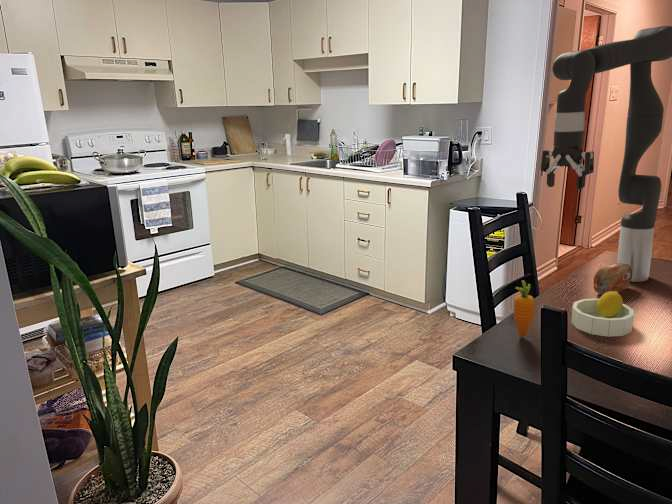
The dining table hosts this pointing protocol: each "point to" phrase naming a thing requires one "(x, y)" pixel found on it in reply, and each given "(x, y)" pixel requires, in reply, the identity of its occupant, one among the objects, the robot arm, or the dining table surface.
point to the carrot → (523, 310)
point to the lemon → (609, 304)
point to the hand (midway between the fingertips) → (564, 188)
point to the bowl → (601, 319)
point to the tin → (612, 278)
